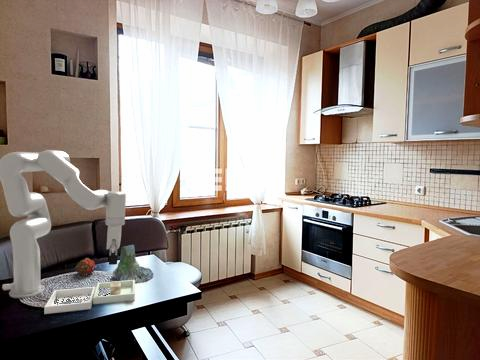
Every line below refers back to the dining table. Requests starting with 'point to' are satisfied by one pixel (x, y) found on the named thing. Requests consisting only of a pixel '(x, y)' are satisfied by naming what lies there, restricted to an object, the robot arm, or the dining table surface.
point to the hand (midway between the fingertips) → (113, 260)
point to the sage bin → (125, 295)
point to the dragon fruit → (85, 266)
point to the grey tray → (55, 308)
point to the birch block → (115, 289)
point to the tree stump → (131, 267)
